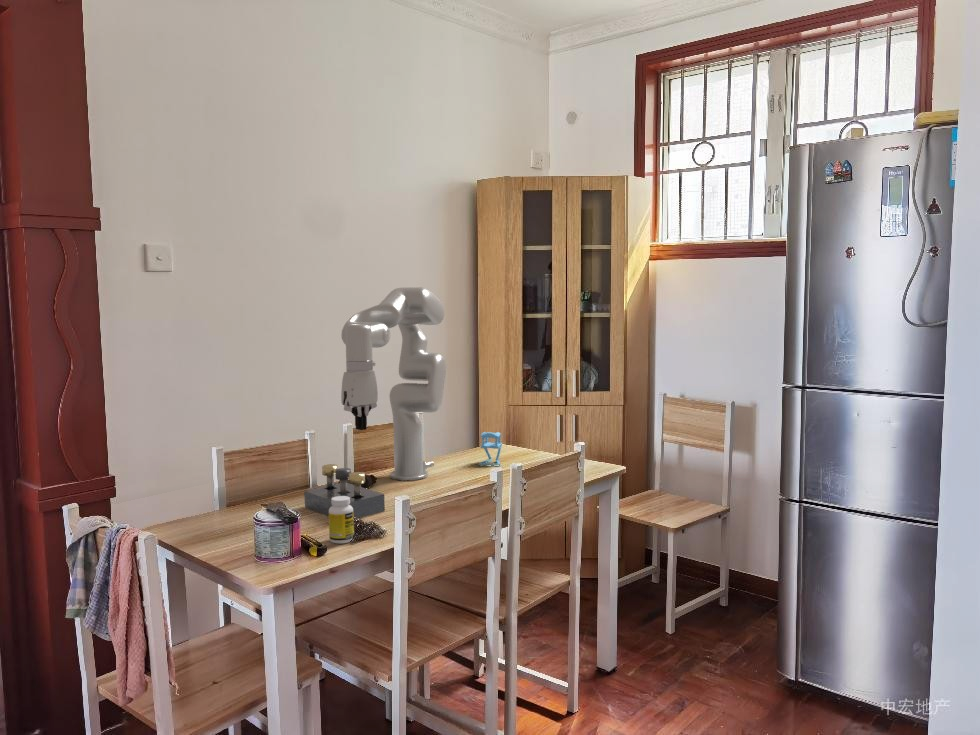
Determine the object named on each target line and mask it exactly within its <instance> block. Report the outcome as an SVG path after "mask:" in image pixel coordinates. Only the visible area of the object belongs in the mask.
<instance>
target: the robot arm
mask: <svg viewBox="0 0 980 735" xmlns="http://www.w3.org/2000/svg"><path fill="white" fill-rule="evenodd" d="M444 317H445V308H444V305H443V303H442V301H441V300H440V299H439V298H438V297H437V296H436V295H435V294H434V293H433V292H432V291H431V290H429V289H428V288H426V287H396V288H394V289H393V290H391V291H390V292H389V294H387V296H385V298H384V299H383V300H382V301H381V302H380V303H379V304H377V305H374V306H372V307H368V308H366V309H364V310H361V311H359V312H356V313H355V314H353V315H352V316H351V317H349V319H348V320H347V321H346V322H345V324H344V325H343V327H342V329H341V340H342V343H343V344H344V345H345V358H346V359H345V368H346V369H345V370H346V371H344V372H343V375H342V380H341V393H340V394H341V396H340V397H341V400H340V401H341V405H343V411H346V412H350V413H351V414H352V415H353V417H354V427H355V430H358V431H366V430H367V429H368V427H367V425H368V421H367V420H368V418H367V417H368V416H369V414H370V411H372V410H373V409H374V408H377V406H378V405H377V402H378V398H379V397H378V395H379V393H378V383H377V377H376V373H375V370H374V369H373V368H374V367H375V366H376V362H375V361H373V348H382V347H385V346H386V345H387V344H388V343H389V341H390V339H391V332H390V329H391V328H395V327H396V326H398V327H399V331H400V334H401V339H402V340H401V341H402V342H401V350H400V356H399V364H398V375H399V377H400V378H401V379H402V380H405V381H411V382H404V383H403V382H401V383H397V384H394V385H393V386H392V387H391V388H390V392H389V402H390V407H391V413H392V423H393V424H392V426H393V427H392V428H393V457H394V459H393V461H394V463H393V464H394V470H393V471H391V472H390V474H389V477H390V478H391V479H392V480H396V481H403V482H405V481H407V480H409V481H418V480H422V478H423V479H425V478H427V477H428V476H429V475H428V474H429V473H428V471H427V469H428V468H433V467H434V466H435V463H434V461H432V460H431V461H427V462H426V461H424V460H423V459H424V455H423V452H424V450H423V426H422V425H423V424H422V421H421V419H420V417H419V416H418V415H417V413H430V414H431V413H436V412H438V411H439V410H440V409H441V406H442V403H443V395H444V388H445V382H446V381H445V379H446V371H447V370H446V369H447V367H446V366H447V365H446V360H445V358H444V356H443V355H441V353H438V352H437V353H436V352H427V350H428V348H427V347H428V338H427V336H426V335H425V333H424V332H423V330H422V329H421V328H420V326H432V325H433V326H436V325H439V324H441V323H442V322H443V320H444ZM412 381H413V382H412ZM415 381H416V382H415ZM414 382H415V383H414ZM417 382H428V383H417ZM404 480H405V481H404Z"/></svg>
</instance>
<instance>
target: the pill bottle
mask: <svg viewBox="0 0 980 735" xmlns="http://www.w3.org/2000/svg"><path fill="white" fill-rule="evenodd" d="M331 503H332V506H331V507H330V508H329V516H328V531H329V532H328V533H329V537H328V538H329V541H330V543H332V544H339V545H340V544H341V545H342V544H348V543H350V541H351V540H352V537H353V535H354V536H355V525H354V520H355V519H353V507H352V506H350V505H349V504H350V497H348V496H336V497H333V498H332V499H331ZM352 541H353V540H352ZM352 541H351V542H352Z"/></svg>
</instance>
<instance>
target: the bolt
mask: <svg viewBox="0 0 980 735" xmlns="http://www.w3.org/2000/svg"><path fill="white" fill-rule="evenodd" d="M377 482H378V477H377V476H375V475H374V474H366V473H365V483H362V484H361V487H362V488H368V489H370V488H371V486H373V485H375V484H376V483H377ZM339 483H340V480H339V481H337V484H339ZM347 483H349V479H347ZM349 484H350V483H349ZM353 485H354V484H353ZM369 487H370V488H369Z"/></svg>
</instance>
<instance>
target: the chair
mask: <svg viewBox="0 0 980 735" xmlns="http://www.w3.org/2000/svg"><path fill="white" fill-rule="evenodd" d="M480 437H481V440H482V442H481V443H482V444H481V445H480V449H484V451H485V453H486V455H487V457H488V459H486V460H483V461H480V462H478V466H479V465H491V466H490V467H492V466H494V465H499V466H495V467H497V468H498V467H501V462H500V461H499V460H500V459H499V458H500V454H501V450H502V446H503V442H501V437H502V434H501V432H498V431H497V432H491V431H487V432H486V431H484V432H481V434H480ZM489 439H495V442H488V441H489ZM488 449H494V450H495V449H497V454H496V457H495V463H491V462H489V461H492V460H493V459H492V457H491V454H490V452H489V450H488ZM486 462H489V463H486ZM495 467H494V468H495Z"/></svg>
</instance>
